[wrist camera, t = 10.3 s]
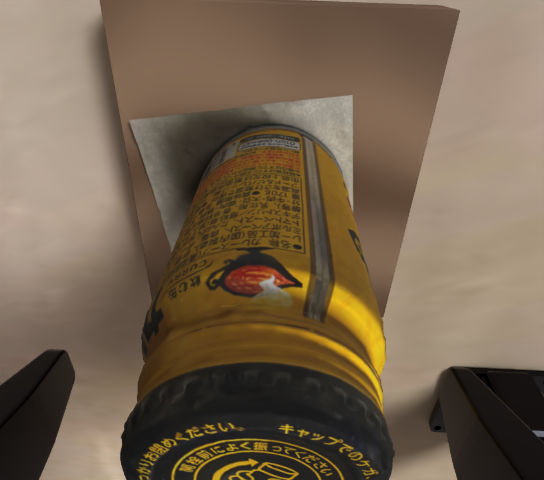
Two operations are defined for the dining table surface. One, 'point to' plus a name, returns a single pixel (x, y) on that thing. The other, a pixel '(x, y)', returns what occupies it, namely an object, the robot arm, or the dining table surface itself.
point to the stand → (289, 91)
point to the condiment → (258, 303)
